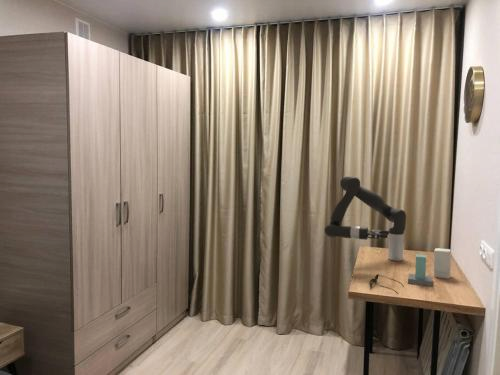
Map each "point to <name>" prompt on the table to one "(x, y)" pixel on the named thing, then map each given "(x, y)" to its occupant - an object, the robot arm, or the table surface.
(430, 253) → the table surface
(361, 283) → the table surface
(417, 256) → the teal block
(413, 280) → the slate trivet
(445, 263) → the skincare box
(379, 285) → the sunglasses
